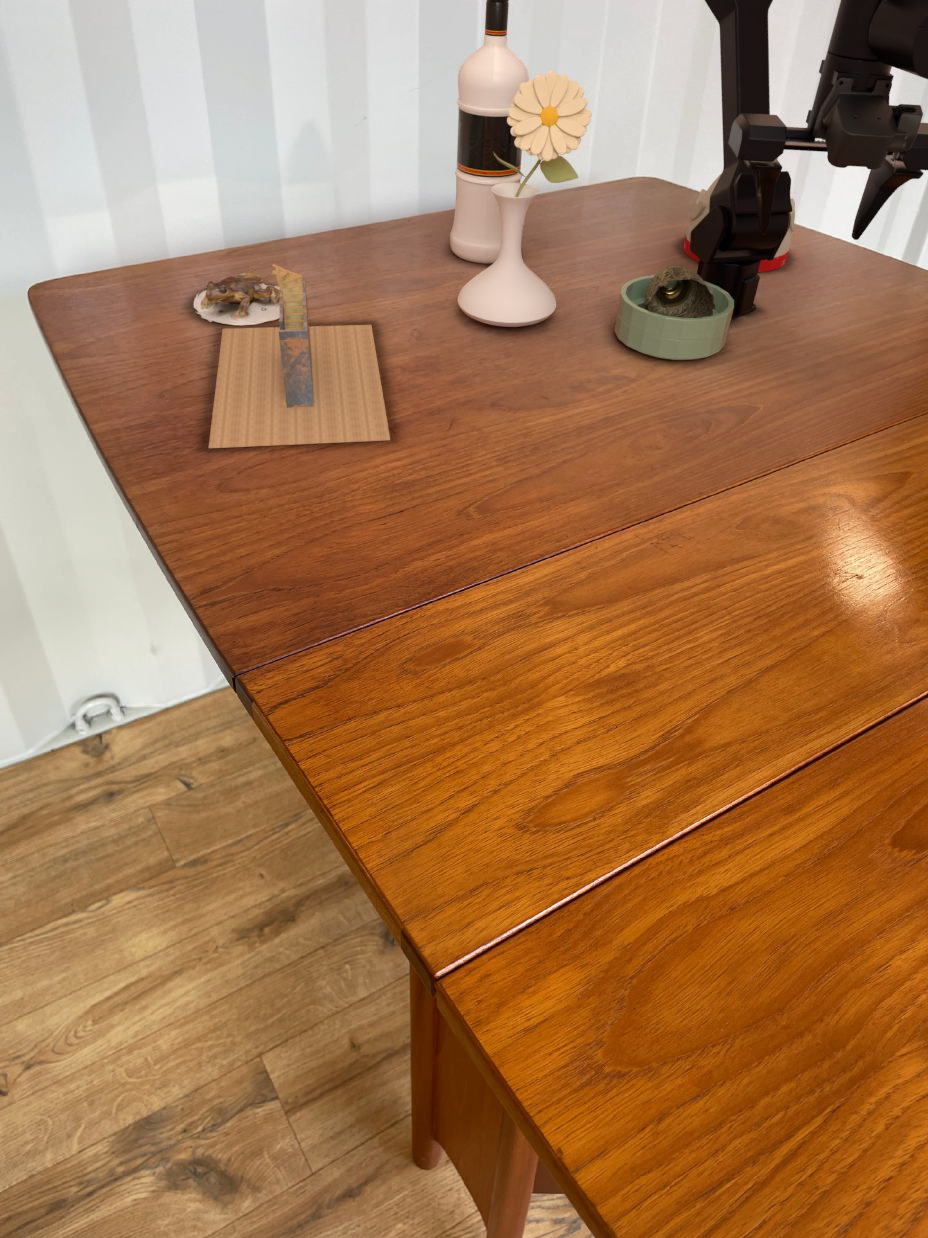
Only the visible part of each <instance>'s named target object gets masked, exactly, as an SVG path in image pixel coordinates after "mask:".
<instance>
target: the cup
mask: <svg viewBox="0 0 928 1238" xmlns="http://www.w3.org/2000/svg"><path fill="white" fill-rule="evenodd" d="M654 275H655V276H654V277H653V279H652V280H651V281H650V283H649V285H648V287H647V290H646V295H645V310H647V311H650V312H653V313H657V314H661V315H665V316H671V317H679V318H702V317H708V316H713V309H715V308H716V307H715V303H714V295H713V293H712V292H711V290H710V289H709V288H708V286H707V285H706V283H705V282H704V281H703V279H702V278H701V277H700V276H699V275H698V274H697V271H695V270H693V269H691V268H689V267H687V266H685V265H672V266H667V267H665V268H663V269H661V270H660V271H659V272H657V273H656V274H654ZM674 281H677V283H676V285H675V286H674V287H672V288H665V287H664V286H665V285H666V284H667V283H668V282H674Z"/></svg>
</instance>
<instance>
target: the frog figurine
mask: <svg viewBox="0 0 928 1238" xmlns="http://www.w3.org/2000/svg"><path fill="white" fill-rule="evenodd" d="M206 287H207V288H204V289H203V290H201V292H198V293H196V294H195V297H194V300H193V308H194V309H195V313H196V314H198V315H199V316H200V318H201V319H203V320H206V321H208V322H209V323H213V322H215V323H219V324H223V325H229V326H252V325H253V326H254V325H255V326H256V325H260V324H264V323H266V322H272V321H276V320H279V313H280V296H279V292H280V287H279V284H274V285H270V284H269V285H268V284H265V283H264V279H263V277H262V276H261V275H259V274H258V273H256V272H255V270H252V269H250V270H248V271H246V272H242V273H240V274H239V275H237V276H236V277H234V276H231V275H230V276H227V277H225V278H223V279H221V281H218V282H213V280H209V281H208V282H207V285H206Z"/></svg>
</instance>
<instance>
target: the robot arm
mask: <svg viewBox="0 0 928 1238" xmlns="http://www.w3.org/2000/svg"><path fill="white" fill-rule="evenodd" d="M704 2H705V3H706V5H707V7H708V8H709V10H710V12H711V13H712V14H713V16H714V18H715V19H716V21H717V23H718V25H719V27H718V28H719V47H720V48H719V49H720V51H719V53H720V83H721V84H720V85H721V86H720V87H721V90H720V91H721V119H722V121H721V122H722V152H723V153H722V155H723V167H722V168H723V170H722V172H721V176H720V178H719V180H718V182H717V184H716V186H715V188H714V190H713V192H712V194H711V196H710V204H709V213H708V214H707V215H706V216H705V217H704V218H703V219H702V220H701V221H700V222H699V223H698V224H697V225H696V226H695V228H694V229H693V230H692V231H691V236H690V251H691V252H692V253H693V254H695V255H696V256H697V257H698V258H699V262H698V265H697V269H696V273H697V274H698V275H699V276H700V277H701V278H702V279H703V281H706V282H708V283H711V284H713V285H716V286H718V287H720V288H721V289H723V290H725V291H726V292H728V293H729V294H730V296H731V297H732V298H733V300H734V309H733V313H732V317H731V321H732V320H733V319H737V318H738V317H741V316H744V315H746V314H748V313H750V312H753V311H755V310H756V309H757V304H755V303H754V302H755V299H756V295H757V291H758V289H759V283H760V280H761V276H760V274H759V272H758V270H759V266H760V262H761V260H768V261H770V260H773V259H774V257H775V255H776V253H777V251H778V249H779V247H780V245H781V243H782V241H783V239H784V237H785V236H786V234H787V232H788V229H789V227H790V221H791V215H790V212H792V210H793V209H792V205H791V199H792V198H791V189H792V188H791V187H792V186H791V185H792V178H791V174H790V172H789V171H788V170H783V166H782V164H781V163H780V162H779V160H778V159H779V157H780V156H782V155H783V154H784V151H788V150H789V151H802V152H803V151H804V152H822V153H827V155H826V158H827V161H828V163H829V164H830V165H831V166H833V167H836V168H841V169H846V168H847V167H859V168H860V167H862V168H863V167H864V168H866V169H867V170H869V174H868V177H867V180H866V184H865V186H864V189H863V192H862V194H861V195H862V196H861V199H860V202H859V205H858V209H857V211H856V215H855V218H854V222H853V227H852V232H851V238H852V239H853V240H855V241H858V240H860V238H861V236H862V235H863V234H864V232H865V231H866V230H867V228H868V227H869V226H870V224H871V223H872V221H873V220H874V218H876V216H877V215H878V213H879V212H880V210H881V209H882V208H883V206H884V205H885V203H886V202H887V201H888V200H889V199H890V197H891V196H892V195H893V194H894V193H895V192H896V191H897V190H898V189H899V188H900V187H901V186H903V185H904V184H906V183H907V182H909V181H911V180H919V179H921V178H922V177H923V175H924V172H923V171H928V122H922V120H923V116H924V112H923V109H922V106H921V105H920V104H906V103H899V104H898V105H893V104H892V105H891V104H890V94H891V89H892V87H893V80H894V75H893V74H892V73H891V71H892V68H895V69H898V70H901V71H904V72H906V73H909V74H912V75H914V76H916V77H920V78H922V79H926V80H928V0H840V2H839V6H838V9H837V13H836V17H835V21H834V25H833V28H832V32H831V36H830V40H829V43H828V48H827V51H826V55H825V58H824V59H821V62H820V66H819V70H818V73H819V74H820V78H819V82H818V85H817V89H816V92H815V97H814V100H813V103H812V108H811V109H808V112H807V115H806V119H805V123H806V124H807V126H806V127H799V126H798V127H797V126H786V124H785V123H784V122H783V121H782V119H781V118H780V117H779V115H777V114H771V105H770V104H771V102H770V101H771V99H770V98H771V97H770V47H769V41H770V40H769V9H770V7H771V5H772V3H773V2H774V0H704ZM816 139H817V140H816Z"/></svg>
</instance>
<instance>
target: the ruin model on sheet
mask: <svg viewBox="0 0 928 1238" xmlns="http://www.w3.org/2000/svg"><path fill="white" fill-rule="evenodd" d="M272 268H275V269H274V270H271V272H272V273H271V274H272V275H275V277H276V278H275V279H276V282H277V285H279V287H280V292H279V296H280V313H279V319H278V326H275V327H273V326H271V327H269V326H268V327H235V328H222V330H221V331H222V332H221V339H220V348H219V355H218V366H217V373H216V383H215V391H214V399H213V407H212V416H211V424H210V432H209V439H208V449H224V448H226V449H227V448H228V449H229V448H247V447H271V446H292V445H294V446H295V445H313V444H332V443H333V444H335V443H358V442H360V443H361V442H363V443H364V442H378V441H379V442H382V441H384V442H385V441H391V436H390V435H391V434H390V429H389V423H388V418H387V411H386V406H385V399H384V393H383V387H382V382H381V374H380V370H379V363H378V356H377V351H376V350H377V349H376V345H375V339H374V333H373V332H374V331H373V327H372V324H348V325H347V324H345V325H343V324H341V325H311V326H310V320H309V309H308V308H309V307H308V297H307V284H306V281H303V274H301V273H297V272H294V271H291V270H289V269H287V268H285V267H282V266H280V265H277V264H275V263H272Z"/></svg>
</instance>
